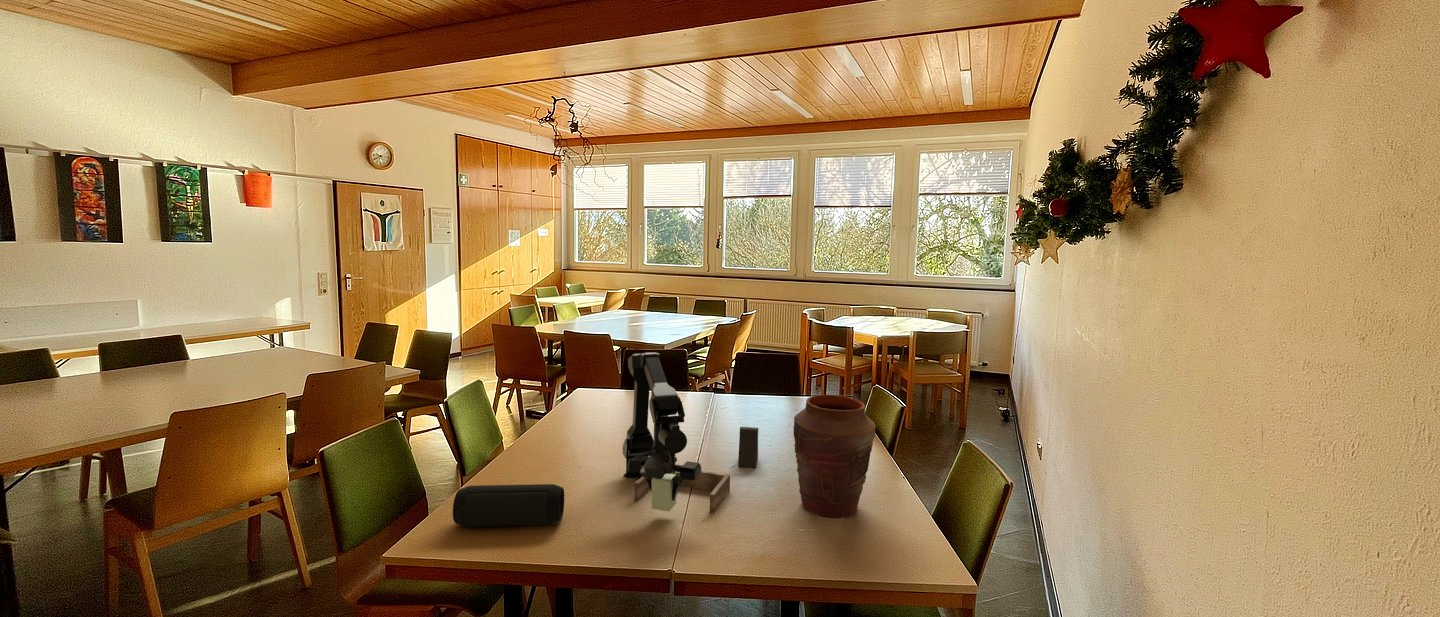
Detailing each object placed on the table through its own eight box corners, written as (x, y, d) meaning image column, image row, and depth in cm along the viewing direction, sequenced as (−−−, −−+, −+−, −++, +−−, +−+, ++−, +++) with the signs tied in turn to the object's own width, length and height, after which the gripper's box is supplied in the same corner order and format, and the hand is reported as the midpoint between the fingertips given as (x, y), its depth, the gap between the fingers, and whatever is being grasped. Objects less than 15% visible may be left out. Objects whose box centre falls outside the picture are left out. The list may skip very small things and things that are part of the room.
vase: (866, 532, 151) (872, 416, 147) (781, 516, 158) (785, 406, 155) (875, 497, 172) (880, 396, 169) (800, 485, 179) (803, 388, 176)
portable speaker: (565, 514, 157) (564, 477, 156) (558, 532, 147) (558, 493, 146) (464, 516, 154) (464, 479, 153) (451, 535, 145) (450, 495, 144)
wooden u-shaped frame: (634, 500, 166) (634, 482, 166) (656, 480, 181) (656, 464, 180) (713, 512, 160) (714, 494, 159) (729, 491, 174) (730, 474, 174)
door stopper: (756, 468, 193) (757, 432, 191) (737, 467, 193) (738, 431, 192) (758, 458, 201) (759, 424, 200) (740, 457, 202) (741, 423, 201)
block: (651, 508, 154) (651, 478, 153) (658, 501, 159) (659, 472, 158) (669, 511, 153) (669, 481, 152) (676, 503, 158) (676, 474, 157)
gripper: (618, 446, 149) (617, 506, 151) (687, 455, 144) (686, 517, 145) (636, 433, 160) (636, 489, 161) (702, 441, 154) (701, 499, 156)
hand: (664, 498), depth 156 cm, fingers closed on block, 5 cm apart
